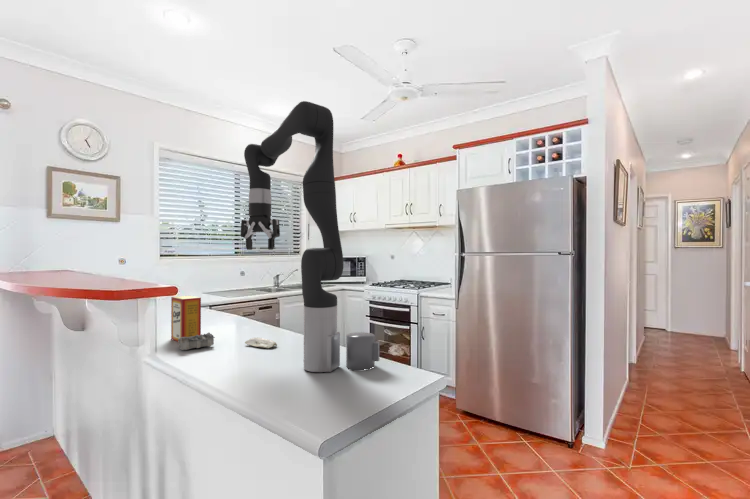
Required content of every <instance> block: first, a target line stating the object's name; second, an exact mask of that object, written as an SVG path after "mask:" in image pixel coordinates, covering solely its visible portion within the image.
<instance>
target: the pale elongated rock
mask: <svg viewBox="0 0 750 499" xmlns="http://www.w3.org/2000/svg"><path fill="white" fill-rule="evenodd" d="M244 344H246V345H248V346H252V347H258V348H264V349H271V348H273V347H275V346H276V347H278V344H277V342H275V341H274V340H271V339H266V338H262V337H252V338H249V339H247V340H246V341H245V342H244Z"/></svg>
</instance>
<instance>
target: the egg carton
mask: <svg viewBox="0 0 750 499" xmlns="http://www.w3.org/2000/svg"><path fill="white" fill-rule="evenodd" d="M215 338H216V337H215V336H214V335H213V334H212V333H210V332H206V333H203V334H201V335H196V336H191V337H181V338H179V339H178V342H177V343H178V349H180V351H183V350H185V351H186V350H191V349H195V348H196V349H199V348H203V347H211V346H214V344H215V343H214V341H215V340H214V339H215Z"/></svg>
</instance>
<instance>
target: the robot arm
mask: <svg viewBox="0 0 750 499" xmlns="http://www.w3.org/2000/svg"><path fill="white" fill-rule="evenodd" d="M297 134H300V135H303V136H306V137H311V138H314V142H315V151H314V152H315V153H314V156H313V158H312V161H311V162H310V164H309V165H308V167H307V170H305V173H304V175H303V179H302V192H303V193H302V194H303V197H302V198H303V203H304V206H305V209H306V210H307V212H308V213H309V215H310V217H311V218H312V220H313V221H314V222H315V224H316V227H317V228H318V229H319V232H320V236H321V239H322V246H323V247H309V248H306V249H305V250H304V251H303V253H302V256H301V260H300V263H301V264H300V266H301V267H300V269H301V271H300V272H301V273H300V274H301V294H302V299H303V370H305V371H308V372H314V373H323V372H326V373H327V372H328V373H329V372H330V373H331V372H333V371H334V370H336V369H338V367H340V366H341V332H340V331H338V296H337V295H336V294H335V293H332V292H328V291H326V290H325V289H324V288H323V287H322V282H328V281H338V280H339V279H341V278H342V276H343V272H344V265H345V264H344V254H343V248H342V242H341V236H340V229H339V221H338V214H337V213H338V210H337V191H336V180H335V171H334V170H335V168H334V117H333V113H332V111H331V110H330V109H329V108H328V107H326V106H323V105H320V104H317V103H314V102H311V101H306V100H303V101H302V100H301V101H299V102H298V103H297V104H296V105H295V106H293V107H292V109H291V110H290V111H289V113H288V114H287V115H286V117H285V118H284V119H283V120H282V122H281V123H280V124H279V126H278V127H277V128H276V129H275V130H274V131H273V132H271V134H268V135H267V136H266V137H265V138H264V139H263V140H262V142H260V144H258V143H249V144H247V145H246V147H245V149H244V151H243V154H244V155H243V157H244V161H245V164H246V168H247V172H248V176H249V177H248V178H249V191H248V192H249V193H248V216H249V219H242V220H241V221H240V222H241V223H240V237H241V238H244V239H245V248H246V249H247V250H248V251H249V250H250V251H252V250H253V237H254V235H255V234H256V233H264V234H265V235H266V236H267V238H268V239H267V242H268V243H267V249H268V251H269V250H271V251H272V250H274V248H275V242H276V241H275V240H276V238H278V237H280V236H281V231H280V230H281V229H280V228H281V227H280V220H279V219H278V218H277V219H276V218H272V190H271V188H272V186H271V183H272V182H271V179H272V178H271V175H270V174H269V173H267V172H265V171H263V170H261V168H260V167H265V168H266V167H267V168H269V167H272V166H275V163H276V162H277V160H278V159H279V157H280V156H281V155H283V154H285V153H286V152H287V151H289V149H290V148H291V146H292V144H293V136H294V135H297ZM271 218H272V219H271ZM271 226H272V227H271Z"/></svg>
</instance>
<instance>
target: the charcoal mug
mask: <svg viewBox="0 0 750 499" xmlns="http://www.w3.org/2000/svg"><path fill="white" fill-rule="evenodd" d="M345 337H346V339H345V340H346V341H345V344H346V347H345V348H346V351H345V354H346V355H345V357H346V358H345V360H346V362H345V363H346V366H345V367H347V368H349V369H353V370H364V369H370V368H372V367H374V366H375V365H376V362H379V361H380V342H378V341H375V340H376V339H375V338H376V336H375V334H374V333H371V332H364V331H363V332H362V331H361V332H358V331H357V332H351V333H347V334H346V336H345ZM375 367H376V366H375ZM375 367H374V368H375ZM347 368H346V369H347ZM349 369H348V370H349ZM353 370H352V371H353Z"/></svg>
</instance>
